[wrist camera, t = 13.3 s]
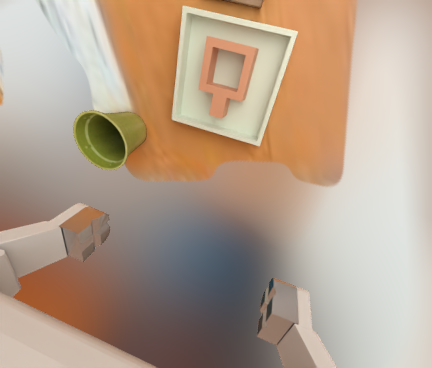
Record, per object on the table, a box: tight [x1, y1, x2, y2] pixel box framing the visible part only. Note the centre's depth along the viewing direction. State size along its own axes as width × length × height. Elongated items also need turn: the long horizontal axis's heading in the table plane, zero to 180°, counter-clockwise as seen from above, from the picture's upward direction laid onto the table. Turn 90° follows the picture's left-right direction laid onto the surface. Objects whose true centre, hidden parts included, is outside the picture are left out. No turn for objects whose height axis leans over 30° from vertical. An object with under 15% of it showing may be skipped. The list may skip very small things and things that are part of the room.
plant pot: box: [73, 110, 146, 170], centre depth 37 cm, size 9×9×9 cm
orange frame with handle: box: [198, 36, 259, 119], centre depth 31 cm, size 9×6×3 cm
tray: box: [172, 6, 298, 146], centre depth 31 cm, size 15×15×3 cm
